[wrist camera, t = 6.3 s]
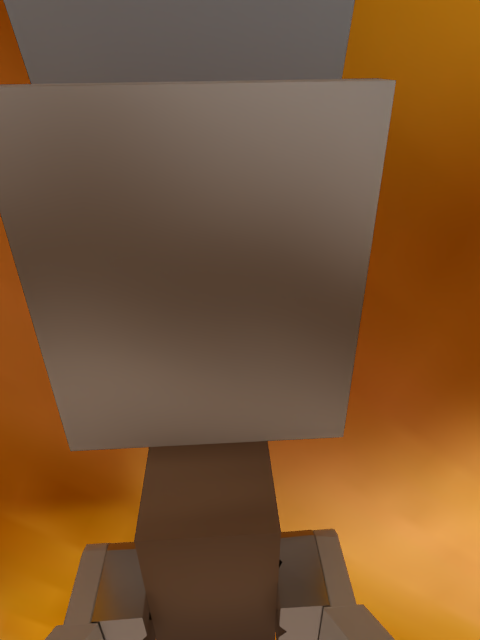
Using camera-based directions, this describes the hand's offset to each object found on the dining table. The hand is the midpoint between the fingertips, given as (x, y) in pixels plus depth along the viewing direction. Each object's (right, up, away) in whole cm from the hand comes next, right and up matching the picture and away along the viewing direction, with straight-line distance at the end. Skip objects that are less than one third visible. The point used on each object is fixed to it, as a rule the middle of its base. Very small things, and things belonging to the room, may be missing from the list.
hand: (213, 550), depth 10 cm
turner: (0, +2, +1) cm, 2 cm away
